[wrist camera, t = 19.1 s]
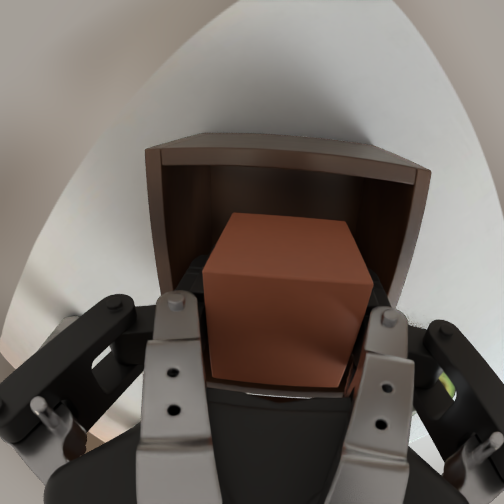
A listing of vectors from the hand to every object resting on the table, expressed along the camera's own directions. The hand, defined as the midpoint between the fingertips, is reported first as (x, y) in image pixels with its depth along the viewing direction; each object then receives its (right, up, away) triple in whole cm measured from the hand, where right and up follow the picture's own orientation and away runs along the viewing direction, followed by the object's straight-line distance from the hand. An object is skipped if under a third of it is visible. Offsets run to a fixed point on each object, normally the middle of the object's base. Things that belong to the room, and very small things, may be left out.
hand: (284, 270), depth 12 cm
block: (0, 0, 0) cm, 0 cm away
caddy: (+1, +2, +11) cm, 11 cm away
